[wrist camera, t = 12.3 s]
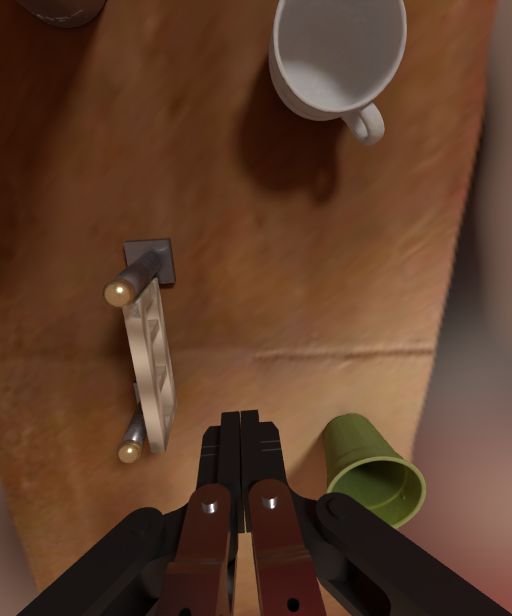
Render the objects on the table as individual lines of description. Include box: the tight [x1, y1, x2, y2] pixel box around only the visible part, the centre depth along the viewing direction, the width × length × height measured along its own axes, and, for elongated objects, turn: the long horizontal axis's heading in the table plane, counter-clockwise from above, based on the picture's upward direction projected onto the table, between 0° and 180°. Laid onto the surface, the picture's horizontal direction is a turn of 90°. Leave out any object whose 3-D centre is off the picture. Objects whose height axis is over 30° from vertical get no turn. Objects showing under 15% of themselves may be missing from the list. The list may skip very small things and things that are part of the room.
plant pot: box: [324, 414, 426, 529], centre depth 46 cm, size 12×12×11 cm
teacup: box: [269, 0, 407, 146], centre depth 32 cm, size 14×11×8 cm
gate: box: [122, 278, 177, 454], centre depth 39 cm, size 17×2×8 cm, turn 3°
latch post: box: [117, 379, 147, 464], centre depth 41 cm, size 4×4×12 cm
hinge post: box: [103, 238, 176, 309], centre depth 35 cm, size 5×5×13 cm
